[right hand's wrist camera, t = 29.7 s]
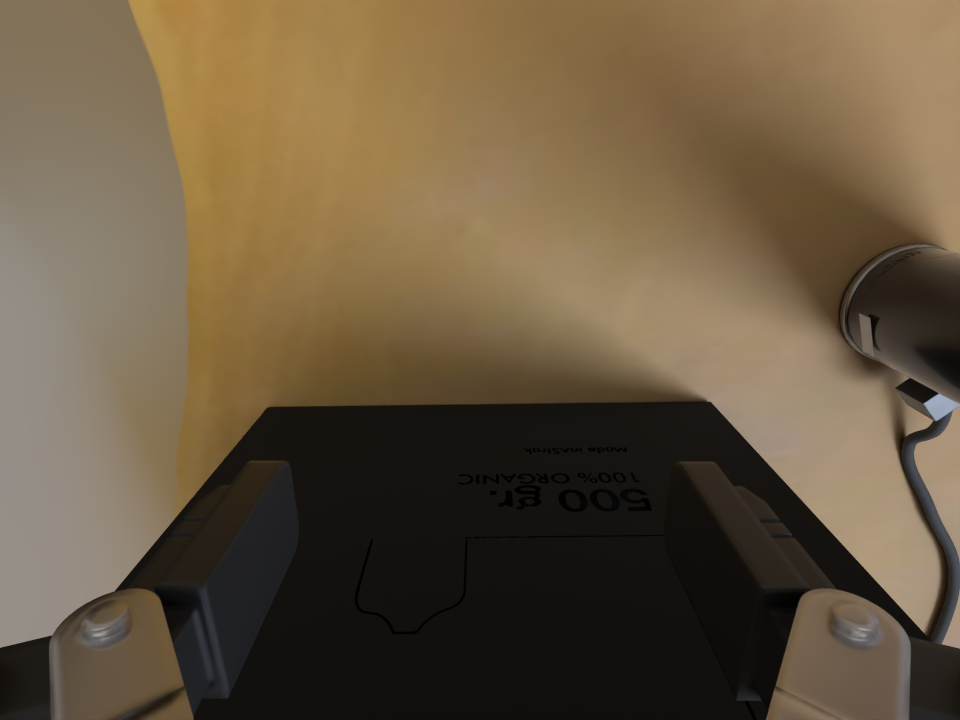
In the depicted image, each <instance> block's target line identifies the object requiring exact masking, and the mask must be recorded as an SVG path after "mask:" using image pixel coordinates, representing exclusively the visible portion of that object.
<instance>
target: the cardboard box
mask: <svg viewBox="0 0 960 720" xmlns="http://www.w3.org/2000/svg"><path fill="white" fill-rule="evenodd" d="M249 461H287V462H288V463H289V465H290V467H291V472H292V479H293V486H294V493H295V500H296V507H297V513H298V520H299V537H298V544H297V548H296V551H295V554H294V556H293V559H292V561H291V563H290V565H289V567H288V569H287V572H286V574H285V576H284V578H283V580H282V582H281V585H280V587H279V589H278V591H277V593H276V595H275V598H274V600H273V602H272V604H271V606H270V608H269V611H268V613H267V615H266V617H265V619H264V621H263V624H262V626H261V628H260V630H259V632H258V634H257V637H256V639H255V641H254V643H253V645H252V647H251V650H250V652H249V654H248V656H247V658H246V660H245V663H244V665H243V667H242V669H241V671H240V673H239V676H238V678H237V680H236V682H235V684H234V686H233V689H232V691H231V693H230V695H229V697H228V699H227V698H202V700H201V702H200V704H199V706H198V708H197V710H196V712H195V714H194V716H193V718H194V720H766V718H767V714H768V711H767V709H766V707H765V705H764V703H763V701H736V699H735V697H734V695H733V693H732V691H731V688H730V686H729V684H728V682H727V680H726V678H725V676H724V674H723V671H722V669H721V667H720V665H719V663H718V661H717V659H716V656H715V654H714V652H713V650H712V648H711V646H710V644H709V641H708V639H707V637H706V635H705V633H704V631H703V629H702V626H701V624H700V622H699V620H698V618H697V616H696V614H695V611H694V609H693V607H692V605H691V603H690V601H689V599H688V596H687V594H686V592H685V590H684V588H683V586H682V584H681V581H680V579H679V577H678V575H677V573H676V571H675V569H674V566H673V564H672V562H671V560H670V558H669V556H668V553H667V550H666V546H665V540H664V520H665V513H666V506H667V499H668V492H669V486H670V479H671V472H672V468H673V466H674V464H675V463H676V462H714V463H716V464H717V465H718V466H719V468H720V469H721V470H722V472H723V473H724V474H725V476H726V477H727V478H728V480H729V481H730V482H731V484H732V485H733V486H743V487H745V488H746V489H748V490H749V491H750V492H752V493H753V494H755V495H756V496H758V497H759V498H761V499H762V500H764V501H765V502H766V503H767V504H768V506H769V507H770V508H771V509H772V510H773V512H774V513H775V514H776V515H777V517H778V518H779V519H780V523H783V524H784V525H785V526H786V528H787V529H788V530H789V531H790V533H791V534H792V538H795V539H796V540H797V541H798V542H799V544H800V545H801V546H802V547H803V548H804V550H805V551H806V552H807V553H808V555H809V556H810V557H811V558H812V559H813V561H814V562H815V563H816V564H817V566H818V567H819V568H820V569H821V570H822V572H823V573H824V574H825V575H826V577H827V578H828V579H829V580H830V582H831V583H832V584H833V585H834V586H835V588H836V589H837V590H841V591H845V592H848V593H851V594H854V595H857V596H859V597H862V598H864V599H866V600H868V601H870V602H872V603H874V604H875V605H877V606H878V607H880V608H882V609H883V610H884V611H886V612H887V613H888V614H890V615H891V616H892V617H893V618H894V619H895V620H896V621H897V622H898V623H899V624H900V625H901V626H902V628H903V629H904V631H905V632H906V634H907V635H908V636H909V637H913V638H917V639H921V640H925V641H929V642H932V641H931V640H930V639H929V638H928V637H927V636H926V635H925V634H924V633H923V632H922V631H921V629H920V628H919V627H918V626H917V625H916V624H915V623H914V622H913V621H912V620H911V619H910V618H909V616H908V615H907V614H906V613H905V612H904V611H903V610H902V609H901V608H900V607H899V606H898V605H897V603H896V602H895V601H894V600H893V599H892V598H891V597H890V596H889V595H888V594H887V593H886V592H885V590H884V589H883V588H882V587H881V586H880V585H879V584H878V583H877V582H876V581H875V580H874V578H873V577H872V576H871V575H870V574H869V573H868V572H867V571H866V570H865V569H864V568H863V567H862V565H861V564H860V563H859V562H858V561H857V560H856V559H855V558H854V557H853V556H852V555H851V554H850V552H849V551H848V550H847V549H846V548H845V547H844V546H843V545H842V544H841V543H840V542H839V541H838V539H837V538H836V537H835V536H834V535H833V534H832V533H831V532H830V531H829V530H828V529H827V528H826V526H825V525H824V524H823V523H822V522H821V521H820V520H819V519H818V518H817V517H816V516H815V515H814V513H813V512H812V511H811V510H810V509H809V508H808V507H807V506H806V505H805V504H804V503H803V502H802V500H801V499H800V498H799V497H798V496H797V495H796V494H795V493H794V492H793V491H792V490H791V489H790V487H789V486H788V485H787V484H786V483H785V482H784V481H783V480H782V479H781V478H780V477H779V476H778V474H777V473H776V472H775V471H774V470H773V469H772V468H771V467H770V466H769V465H768V464H767V463H766V461H765V460H764V459H763V458H762V457H761V456H760V455H759V454H758V453H757V452H756V451H755V450H754V448H753V447H752V446H751V445H750V444H749V443H748V442H747V441H746V440H745V439H744V438H743V437H742V435H741V434H740V433H739V432H738V431H737V430H736V429H735V428H734V427H733V426H732V425H731V424H730V422H729V421H728V420H727V419H726V418H725V417H724V416H723V415H722V414H721V413H720V412H719V411H718V409H717V408H716V407H715V406H714V405H713V404H712V403H711V402H665V403H585V404H506V405H427V406H347V407H268V408H267V409H266V410H265V411H264V412H263V414H262V415H261V416H260V417H259V418H258V420H257V421H256V422H255V423H254V424H253V426H252V427H251V428H250V429H249V430H248V432H247V433H246V434H245V435H244V436H243V438H242V439H241V440H240V441H239V442H238V444H237V445H236V446H235V447H234V448H233V450H232V451H231V452H230V453H229V454H228V456H227V457H226V458H225V459H224V460H223V462H222V463H221V464H220V465H219V466H218V468H217V469H216V470H215V471H214V472H213V474H212V475H211V476H210V477H209V478H208V480H207V481H206V482H205V483H204V484H203V486H202V487H201V488H200V489H199V491H198V492H197V493H196V494H195V495H194V497H193V498H192V499H191V500H190V501H189V503H188V504H187V505H186V506H185V507H184V509H183V510H182V511H181V512H180V513H179V515H178V516H177V517H176V518H175V519H174V521H173V522H172V523H171V524H170V525H169V527H168V528H167V529H166V530H165V531H164V533H163V534H162V535H161V536H160V537H159V539H158V540H157V541H156V542H155V544H154V545H153V546H152V547H151V548H150V549H149V551H148V552H147V553H146V554H145V555H144V557H143V558H142V559H141V560H140V562H139V563H138V564H137V565H136V566H135V567H134V569H133V570H132V571H131V572H130V573H129V575H128V576H127V577H126V578H125V579H124V581H123V582H122V583H121V584H120V586H119V587H118V588H117V589H116V590H115V591H119V590H125V589H127V588H128V587H129V585H130V584H131V583H132V582H133V580H134V579H135V578H136V577H137V576H138V574H139V573H140V572H141V571H142V569H143V568H144V567H145V566H146V564H147V563H148V562H149V561H150V559H151V558H152V557H153V556H154V555H155V553H156V552H157V551H158V550H159V548H160V547H161V546H162V545H163V543H164V542H165V541H166V540H167V538H168V537H171V536H172V532H173V531H174V530H175V529H176V527H177V526H178V525H179V524H180V522H184V517H185V516H186V515H187V514H188V512H189V511H190V510H191V509H192V508H193V506H194V505H195V504H196V503H197V501H198V500H199V499H201V498H202V497H204V496H205V495H207V494H208V493H210V492H211V491H213V490H214V489H216V488H217V487H219V486H220V485H230V484H231V483H232V482H233V480H234V479H235V478H236V476H237V475H238V474H239V472H240V471H241V470H242V468H243V467H244V466H245V464H246V463H247V462H249ZM465 474H467V476H465ZM496 474H498V475H497V476H496ZM500 474H501V475H500ZM503 474H504V476H505V478H503ZM468 475H471V476H472V477H473V478H472V479H470V478H471V476H470V478H469V477H468ZM476 476H477V477H478V478H480V479H477V478H476ZM487 476H488V477H489V478H487ZM507 476H509V477H514V478H512V479H510V478H507ZM476 482H480V483H477V484H476ZM465 484H466V485H465ZM520 498H521V500H520ZM523 498H526V500H525V502H526V507H525V508H523V507H524V499H523ZM530 498H533V499H530ZM508 499H510V507H509V502H508V503H507V504H506V505H505V506H503V507H501V503H502V505H504V503H505V502H506V501H507V500H508ZM519 502H520V504H519ZM529 504H531V507H528V506H529ZM520 506H521V508H516V507H520ZM517 536H527V537H528V538H518V537H517ZM466 537H475V538H468V539H467V543H465V539H466ZM478 537H496V538H478ZM500 537H509V538H500Z"/></svg>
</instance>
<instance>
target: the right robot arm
mask: <svg viewBox="0 0 960 720" xmlns="http://www.w3.org/2000/svg"><path fill="white" fill-rule="evenodd" d="M840 323H841V328H842V332H843V334H844V337H845V339H846V340H847V342H848V343H849V344H850V345H851V346H852V347H853V348H854V349H855V350H856V351H858V352H859V353H861V354H863V355H864V356H866V357H868V358H871V359H873V360H876V361H879V362H881V363H882V364H884V365H886V366H888V367H890V368H892V369H894V370H896V371H897V372H899V373H901V374H903V375H905V376H907V377H909V379H908V380H906V381H905V382H903V383H902V384H900V385H899V386H898V387H896V390H897V391H898V393H899V394H900V395H901V397H902V398H903V399H904V401H905V402H906V404H907V405H908V406H910V407H912V408H913V409H915V410H917V411H919V412H920V413H922V414H924V415H925V416H927V417H929V418H930V419H932V420H934V421H933V422H932V424H931V425H930V426H929V427H928V428H926V429H924V430H920V431H917V432H914V433H911V434H909V435H908V436H906V437H905V439H904V441H903V444H902V449H901V460H902V464H903V467H904V470H905V472H906V475H907V477H908V479H909V481H910V483H911V485H912V487H913V489H914V490H915V492H916V494H917V496H918V498H919V500H920V502H921V505H922V507H923V510H924V512H925V515H926V517H927V519H928V521H929V523H930V525H931V527H932V529H933V531H934V533H935V534H936V536H937V538H938V540H939V541H940V543H941V545H942V547H943V550H944V552H945V556H946V559H947V565H948V588H947V594H946V598H945V602H944V605H943V608H942V611H941V614H940V616H939V619H938V622H937V624H936V627H935V629H934V632H933V634H932V636H931V638H930V640H931V641H932V642H929V641H925V640H921V639H917V638H913V637H909V636H908V635H907V634H906V632H905V631H904V629H903V628H902V626H901V625H900V624H899V623H898V622H897V621H896V620H895V619H894V618H893V617H892V616H891V615H890V614H888V613H887V612H886V611H884V610H883V609H882V608H880V607H878V606H877V605H875V604H874V603H872V602H870V601H868V600H866V599H864V598H862V597H859V596H857V595H854V594H851V593H848V592H845V591H841V590H837V589H836V588H835V586H834V585H833V584H832V583H831V582H830V580H829V579H828V578H827V577H826V575H825V574H824V573H823V572H822V570H821V569H820V568H819V567H818V566H817V564H816V563H815V562H814V561H813V559H812V558H811V557H810V556H809V555H808V553H807V552H806V551H805V550H804V548H803V547H802V546H801V545H800V544H799V542H798V541H797V540H796V539H795V538H792V534H791V533H790V531H789V530H788V529H787V528H786V526H785V525H784V524H783V523H780V519H779V518H778V517H777V515H776V514H775V513H774V512H773V510H772V509H771V508H770V507H769V506H768V504H767V503H766V502H765V501H764V500H762V499H761V498H759V497H758V496H756V495H755V494H753V493H752V492H750V491H749V490H748V489H746V488H745V487H743V486H733V485H732V484H731V482H730V481H729V480H728V478H727V477H726V476H725V474H724V473H723V472H722V470H721V469H720V468H719V466H718V465H717V464H716V463H714V462H676V463H675V464H674V466H673V468H672V472H671V479H670V486H669V492H668V499H667V506H666V513H665V520H664V540H665V546H666V550H667V553H668V556H669V558H670V560H671V562H672V564H673V566H674V569H675V571H676V573H677V575H678V577H679V579H680V581H681V584H682V586H683V588H684V590H685V592H686V594H687V596H688V599H689V601H690V603H691V605H692V607H693V609H694V611H695V614H696V616H697V618H698V620H699V622H700V624H701V626H702V629H703V631H704V633H705V635H706V637H707V639H708V641H709V644H710V646H711V648H712V650H713V652H714V654H715V656H716V659H717V661H718V663H719V665H720V667H721V669H722V671H723V674H724V676H725V678H726V680H727V682H728V684H729V686H730V688H731V691H732V693H733V695H734V697H735V699H736V701H763V703H764V705H765V707H766V709H767V711H768V714H767V718H766V720H960V649H959V648H954V647H950V646H946V645H942V642H943V640H944V637H945V635H946V633H947V630H948V628H949V625H950V622H951V620H952V617H953V614H954V611H955V608H956V604H957V601H958V596H959V590H960V563H959V558H958V554H957V551H956V548H955V546H954V544H953V542H952V540H951V538H950V536H949V534H948V533H947V531H946V529H945V527H944V525H943V523H942V521H941V519H940V517H939V515H938V512H937V510H936V507H935V505H934V502H933V500H932V498H931V496H930V494H929V492H928V490H927V488H926V486H925V484H924V482H923V480H922V478H921V476H920V474H919V472H918V470H917V467H916V464H915V460H914V449H915V446H916V444H917V443H919V442H922V441H926V440H930V439H932V438H935V437H937V436H939V435H940V434H941V433H942V432H943V431H944V430H945V428H946V427H947V425H948V423H949V421H950V418H951V415H952V411H953V410H954V409H956V408H957V407H959V406H960V253H957V252H952V251H948V250H946V249H943V248H940V247H936V246H931V245H926V244H911V245H905V246H900V247H897V248H894V249H891V250H889V251H887V252H885V253H883V254H881V255H879V256H878V257H876V258H875V259H873V260H872V261H871V262H869V263H868V264H867V265H866V266H865V267H864V268H863V269H862V270H861V271H860V272H859V273H858V274H857V275H856V277H855V278H854V279H853V281H852V282H851V284H850V285H849V287H848V289H847V291H846V293H845V295H844V298H843V301H842V305H841V311H840ZM298 537H299V520H298V513H297V507H296V500H295V493H294V486H293V479H292V472H291V467H290V465H289V463H288V462H287V461H249V462H247V463H246V464H245V466H244V467H243V468H242V470H241V471H240V472H239V474H238V475H237V476H236V478H235V479H234V480H233V482H232V483H231V484H230V485H220V486H219V487H217V488H216V489H214V490H213V491H211V492H210V493H208V494H207V495H205V496H204V497H202V498H201V499H199V500H198V501H197V503H196V504H195V505H194V506H193V508H192V509H191V510H190V511H189V512H188V514H187V515H186V516H185V517H184V522H180V524H179V525H178V526H177V527H176V529H175V530H174V531H173V532H172V536H171V537H168V538H167V540H166V541H165V542H164V543H163V545H162V546H161V547H160V548H159V550H158V551H157V552H156V553H155V555H154V556H153V557H152V558H151V559H150V561H149V562H148V563H147V564H146V566H145V567H144V568H143V569H142V571H141V572H140V573H139V574H138V576H137V577H136V578H135V579H134V580H133V582H132V583H131V584H130V585H129V587H128V588H127V589H125V590H119V591H115V592H112V593H109V594H106V595H103V596H101V597H98V598H96V599H94V600H92V601H90V602H88V603H86V604H85V605H83V606H82V607H80V608H78V609H77V610H76V611H74V612H73V613H72V614H70V615H69V616H68V617H67V618H66V619H65V620H64V621H63V622H62V623H61V624H60V625H59V627H58V628H57V629H56V631H55V632H54V634H53V635H52V636H48V637H44V638H40V639H35V640H31V641H27V642H23V643H19V644H15V645H10V646H6V647H2V648H0V720H194V718H193V716H194V714H195V712H196V710H197V708H198V706H199V704H200V702H201V700H202V698H227V699H228V697H229V695H230V693H231V691H232V689H233V686H234V684H235V682H236V680H237V678H238V676H239V673H240V671H241V669H242V667H243V665H244V663H245V660H246V658H247V656H248V654H249V652H250V650H251V647H252V645H253V643H254V641H255V639H256V637H257V634H258V632H259V630H260V628H261V626H262V624H263V621H264V619H265V617H266V615H267V613H268V611H269V608H270V606H271V604H272V602H273V600H274V598H275V595H276V593H277V591H278V589H279V587H280V585H281V582H282V580H283V578H284V576H285V574H286V572H287V569H288V567H289V565H290V563H291V561H292V559H293V556H294V554H295V551H296V548H297V544H298Z"/></svg>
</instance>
